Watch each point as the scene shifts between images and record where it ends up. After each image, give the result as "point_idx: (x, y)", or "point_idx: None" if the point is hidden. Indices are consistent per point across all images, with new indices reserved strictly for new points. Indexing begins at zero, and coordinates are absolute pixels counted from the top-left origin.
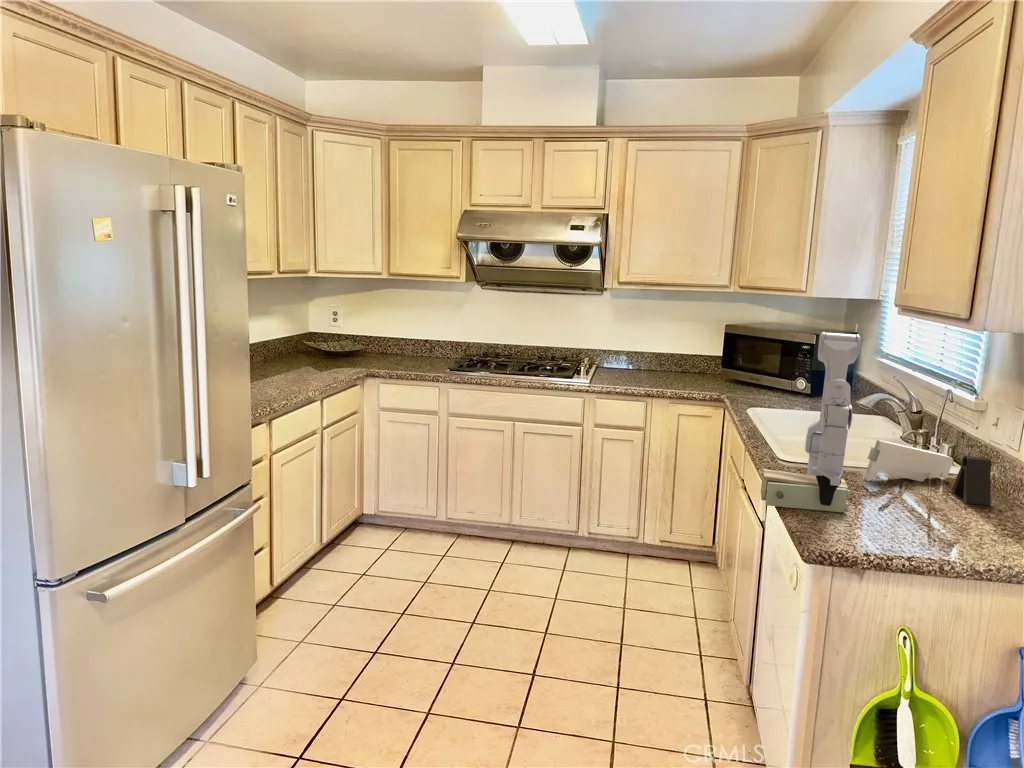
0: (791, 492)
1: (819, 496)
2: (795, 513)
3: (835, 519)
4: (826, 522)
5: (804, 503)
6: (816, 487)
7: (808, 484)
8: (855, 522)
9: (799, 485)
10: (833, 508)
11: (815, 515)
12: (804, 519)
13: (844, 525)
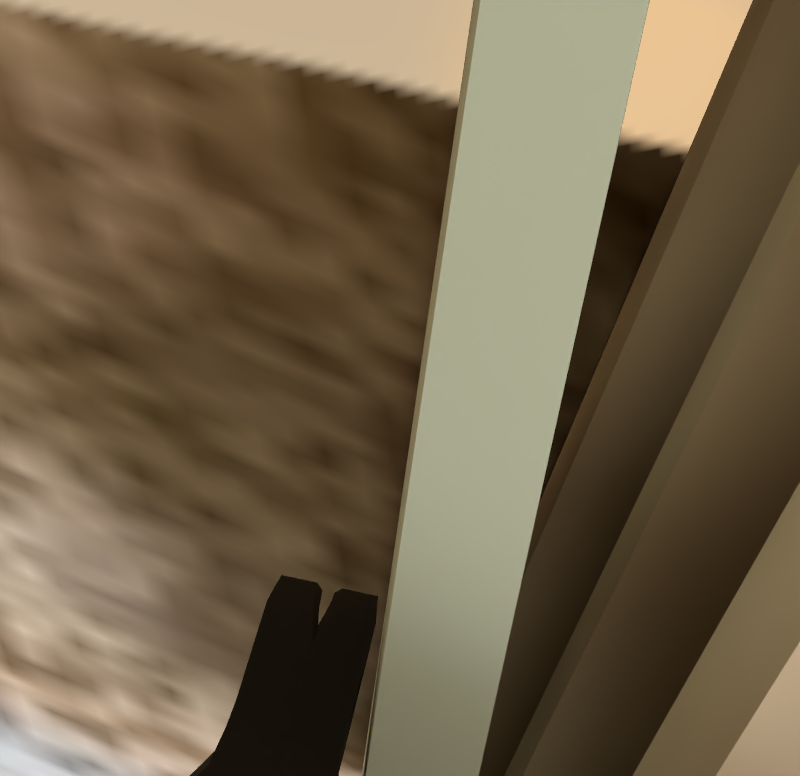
0: (464, 87)
1: (359, 649)
2: (270, 170)
3: (167, 597)
4: (42, 458)
5: (420, 372)
6: (370, 746)
7: (716, 670)
8: (132, 747)
9: (483, 313)
10: (372, 702)
11: (248, 425)
12: (65, 213)
13: (11, 610)
